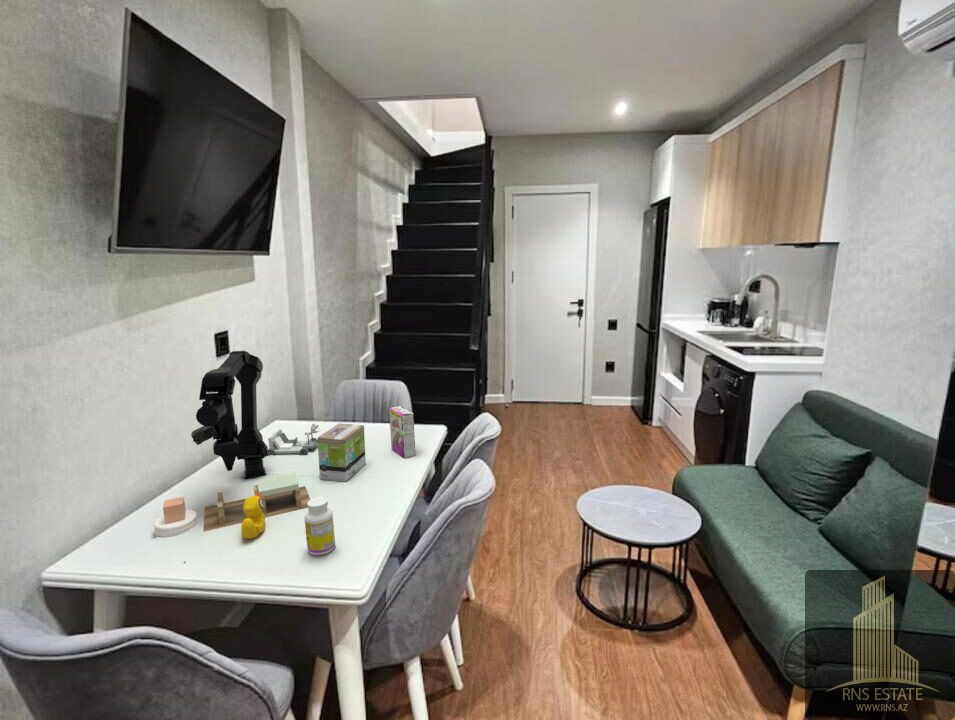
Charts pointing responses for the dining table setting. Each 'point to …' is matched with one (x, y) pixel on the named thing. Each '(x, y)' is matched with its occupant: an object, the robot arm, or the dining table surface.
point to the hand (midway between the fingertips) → (229, 464)
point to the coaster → (175, 525)
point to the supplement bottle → (319, 527)
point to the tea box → (341, 452)
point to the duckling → (253, 517)
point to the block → (174, 510)
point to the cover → (277, 484)
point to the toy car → (291, 443)
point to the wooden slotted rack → (271, 506)
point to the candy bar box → (402, 431)
